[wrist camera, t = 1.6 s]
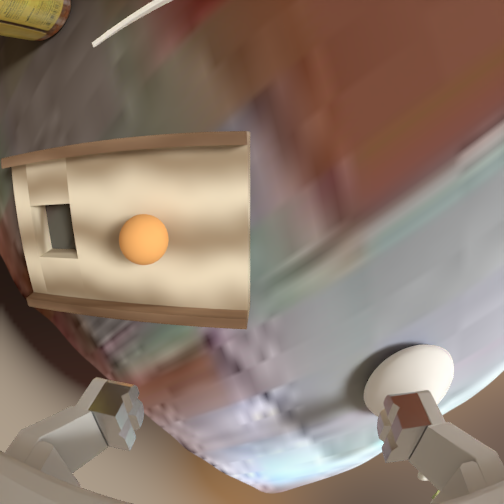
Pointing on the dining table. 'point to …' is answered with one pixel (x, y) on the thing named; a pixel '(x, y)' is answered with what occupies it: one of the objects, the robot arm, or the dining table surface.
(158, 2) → the fork
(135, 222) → the ball
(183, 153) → the beige tray
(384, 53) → the dining table surface
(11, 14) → the sauce bottle
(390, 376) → the flower in vase
